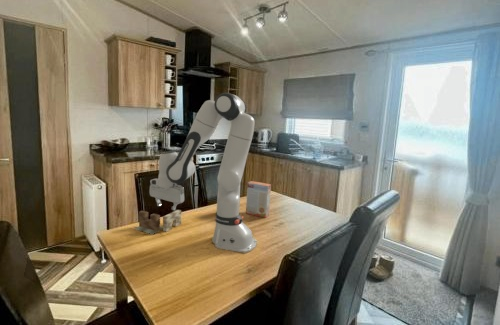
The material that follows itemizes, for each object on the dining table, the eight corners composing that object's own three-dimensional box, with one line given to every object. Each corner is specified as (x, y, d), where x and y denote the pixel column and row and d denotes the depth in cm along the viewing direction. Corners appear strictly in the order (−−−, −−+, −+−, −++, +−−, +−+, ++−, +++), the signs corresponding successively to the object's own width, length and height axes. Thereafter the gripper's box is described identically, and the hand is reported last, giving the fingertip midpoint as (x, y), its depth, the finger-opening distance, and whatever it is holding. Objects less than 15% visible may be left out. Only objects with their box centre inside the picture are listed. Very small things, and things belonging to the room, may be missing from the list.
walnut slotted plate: (163, 228, 144) (163, 213, 142) (152, 234, 137) (152, 218, 135) (146, 224, 149) (146, 208, 147) (135, 229, 141) (134, 213, 140)
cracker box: (269, 215, 173) (271, 183, 169) (265, 218, 167) (268, 186, 163) (249, 210, 178) (251, 180, 175) (245, 213, 173) (247, 182, 169)
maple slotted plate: (177, 223, 152) (177, 209, 151) (181, 223, 152) (181, 210, 150) (162, 230, 142) (162, 216, 140) (166, 231, 141) (166, 217, 139)
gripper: (187, 184, 137) (186, 210, 140) (156, 177, 145) (155, 202, 148) (179, 187, 131) (178, 214, 134) (147, 179, 139) (147, 205, 142)
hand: (166, 207), depth 141 cm, fingers open, 8 cm apart
